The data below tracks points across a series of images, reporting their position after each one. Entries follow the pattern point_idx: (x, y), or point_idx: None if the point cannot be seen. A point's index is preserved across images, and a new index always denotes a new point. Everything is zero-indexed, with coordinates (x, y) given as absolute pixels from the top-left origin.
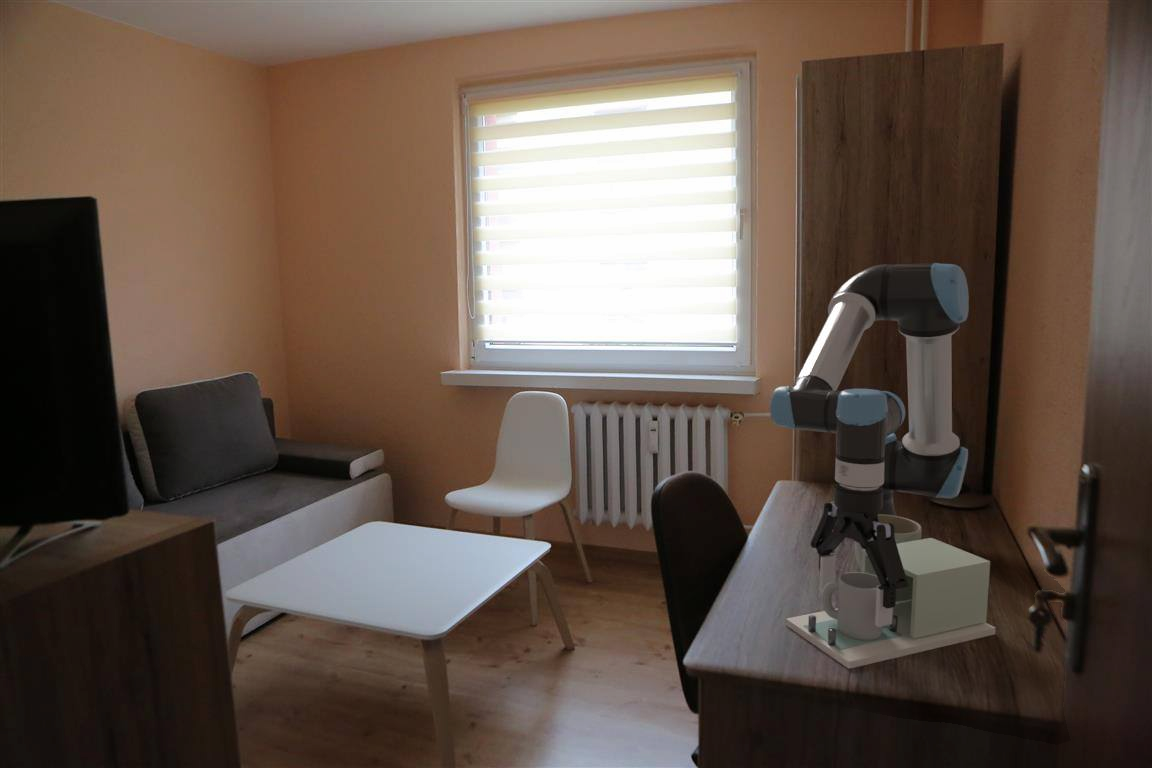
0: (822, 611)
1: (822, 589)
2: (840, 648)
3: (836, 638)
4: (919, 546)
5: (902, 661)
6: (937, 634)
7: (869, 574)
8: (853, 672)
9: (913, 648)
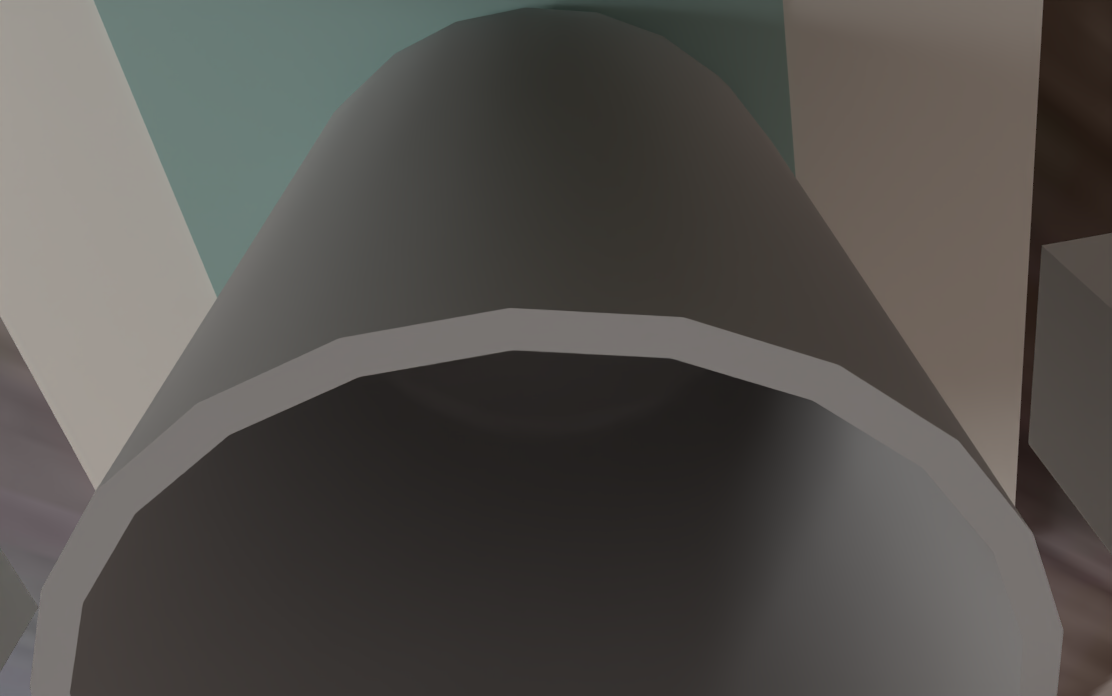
0: (34, 375)
1: (9, 645)
2: None
3: None
4: None
5: (1085, 46)
6: None
7: (196, 459)
8: (1039, 520)
9: None
